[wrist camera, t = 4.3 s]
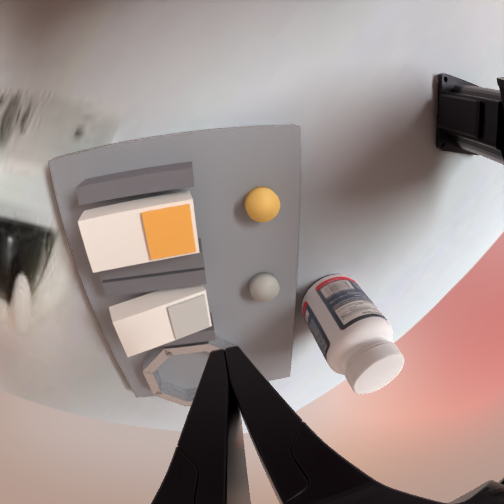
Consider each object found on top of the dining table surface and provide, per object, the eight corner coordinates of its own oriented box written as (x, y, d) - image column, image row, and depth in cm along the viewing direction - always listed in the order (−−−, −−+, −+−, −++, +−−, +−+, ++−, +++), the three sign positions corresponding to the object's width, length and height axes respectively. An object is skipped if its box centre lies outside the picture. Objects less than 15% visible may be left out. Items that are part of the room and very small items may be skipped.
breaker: (195, 277, 19) (207, 291, 18) (202, 312, 21) (213, 327, 19) (108, 307, 16) (113, 324, 15) (122, 341, 18) (128, 359, 17)
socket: (237, 325, 22) (241, 339, 21) (243, 385, 26) (246, 397, 25) (135, 337, 21) (133, 351, 20) (160, 395, 25) (160, 408, 24)
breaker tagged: (189, 190, 16) (193, 200, 14) (195, 240, 17) (200, 254, 16) (84, 210, 14) (76, 223, 13) (97, 258, 16) (92, 274, 14)
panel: (293, 124, 17) (312, 129, 15) (286, 367, 28) (295, 390, 25) (56, 157, 15) (35, 168, 12) (136, 387, 26) (135, 412, 23)
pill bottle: (331, 328, 26) (373, 402, 19) (288, 313, 24) (327, 399, 17) (367, 284, 25) (424, 354, 17) (326, 262, 23) (385, 341, 15)
